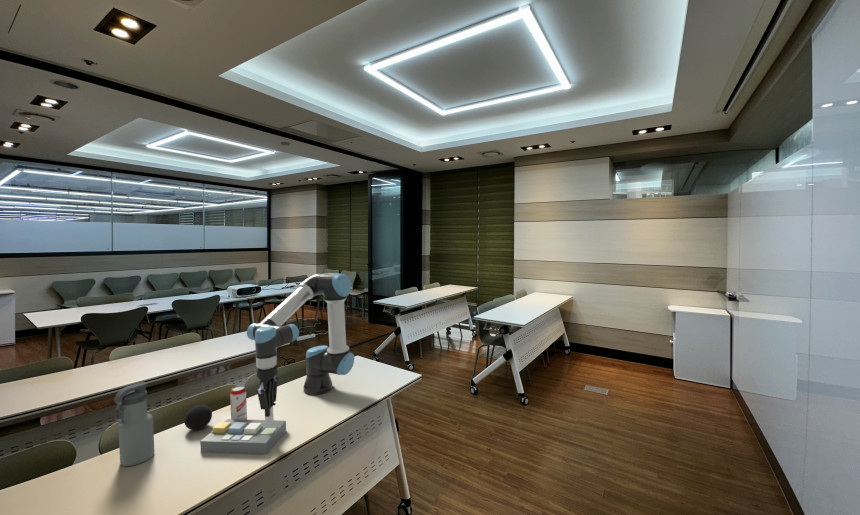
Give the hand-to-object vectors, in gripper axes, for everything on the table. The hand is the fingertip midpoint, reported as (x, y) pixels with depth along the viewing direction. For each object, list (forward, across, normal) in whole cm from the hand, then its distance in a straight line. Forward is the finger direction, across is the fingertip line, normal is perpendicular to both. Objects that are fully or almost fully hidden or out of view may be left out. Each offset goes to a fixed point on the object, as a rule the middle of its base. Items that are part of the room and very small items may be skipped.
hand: (269, 422), depth 137 cm
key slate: (+4, +1, -13) cm, 14 cm away
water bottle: (+7, +14, -44) cm, 47 cm away
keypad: (+8, +1, -10) cm, 13 cm away
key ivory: (+4, +1, -7) cm, 8 cm away
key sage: (+6, +1, 0) cm, 6 cm away
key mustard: (+4, +1, -20) cm, 20 cm away
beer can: (+8, -12, -21) cm, 26 cm away
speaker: (+8, -7, -36) cm, 38 cm away
